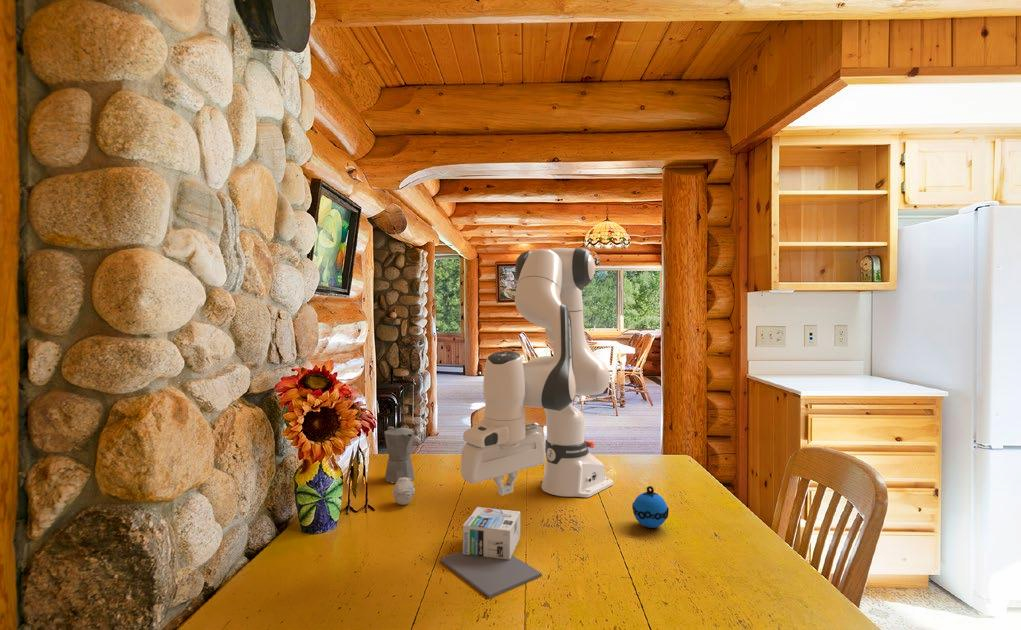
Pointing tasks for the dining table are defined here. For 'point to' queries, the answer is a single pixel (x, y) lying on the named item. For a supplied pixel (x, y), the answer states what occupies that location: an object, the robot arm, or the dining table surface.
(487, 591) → the mat
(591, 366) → the robot arm
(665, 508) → the ornament
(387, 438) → the coffeepot
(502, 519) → the light bulb box
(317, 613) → the dining table surface
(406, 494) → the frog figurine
